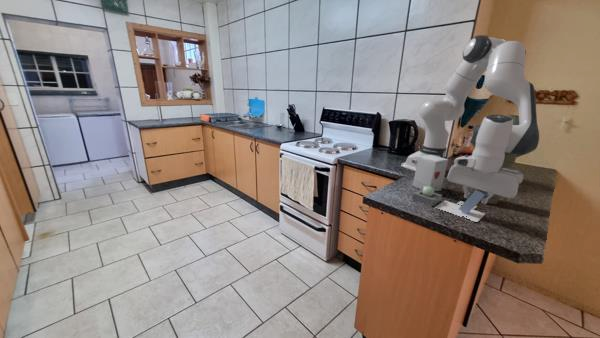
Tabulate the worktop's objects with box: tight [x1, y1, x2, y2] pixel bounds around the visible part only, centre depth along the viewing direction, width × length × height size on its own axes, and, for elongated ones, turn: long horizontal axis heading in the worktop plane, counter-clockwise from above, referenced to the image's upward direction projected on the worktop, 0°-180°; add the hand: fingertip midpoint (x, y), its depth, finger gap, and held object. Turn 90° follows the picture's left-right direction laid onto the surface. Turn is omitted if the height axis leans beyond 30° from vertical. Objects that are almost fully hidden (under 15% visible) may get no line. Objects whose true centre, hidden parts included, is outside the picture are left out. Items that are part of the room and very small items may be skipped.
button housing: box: [411, 189, 443, 207], centre depth 100 cm, size 8×8×3 cm
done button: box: [422, 186, 435, 198], centre depth 99 cm, size 4×4×4 cm
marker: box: [459, 189, 487, 214], centre depth 88 cm, size 3×3×10 cm
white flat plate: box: [434, 200, 486, 223], centre depth 92 cm, size 14×10×1 cm
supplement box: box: [412, 155, 449, 193], centre depth 111 cm, size 9×9×15 cm
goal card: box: [456, 200, 478, 210], centre depth 97 cm, size 6×4×1 cm, turn 39°
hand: (475, 200), depth 87 cm, fingers closed on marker, 4 cm apart
